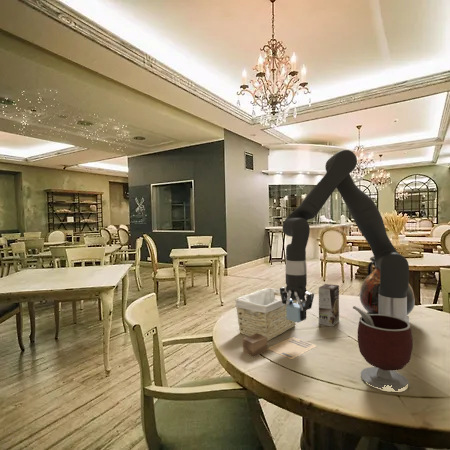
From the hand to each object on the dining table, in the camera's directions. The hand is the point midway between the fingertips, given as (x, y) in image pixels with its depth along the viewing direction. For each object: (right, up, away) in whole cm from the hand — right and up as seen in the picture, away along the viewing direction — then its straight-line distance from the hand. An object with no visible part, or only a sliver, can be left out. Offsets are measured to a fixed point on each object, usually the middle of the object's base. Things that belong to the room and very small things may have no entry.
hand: (296, 317), depth 110 cm
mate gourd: (+19, -11, -23) cm, 32 cm away
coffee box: (+20, -9, +22) cm, 31 cm away
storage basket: (-8, -10, +15) cm, 20 cm away
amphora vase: (+45, -8, +23) cm, 51 cm away
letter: (-2, -10, -2) cm, 11 cm away
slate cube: (0, 0, 0) cm, 0 cm away
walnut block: (-16, -11, -4) cm, 19 cm away
